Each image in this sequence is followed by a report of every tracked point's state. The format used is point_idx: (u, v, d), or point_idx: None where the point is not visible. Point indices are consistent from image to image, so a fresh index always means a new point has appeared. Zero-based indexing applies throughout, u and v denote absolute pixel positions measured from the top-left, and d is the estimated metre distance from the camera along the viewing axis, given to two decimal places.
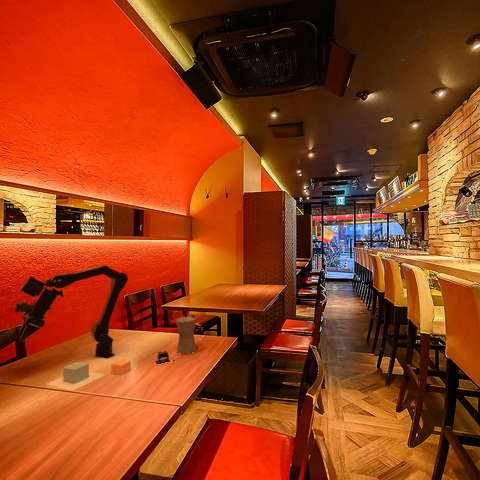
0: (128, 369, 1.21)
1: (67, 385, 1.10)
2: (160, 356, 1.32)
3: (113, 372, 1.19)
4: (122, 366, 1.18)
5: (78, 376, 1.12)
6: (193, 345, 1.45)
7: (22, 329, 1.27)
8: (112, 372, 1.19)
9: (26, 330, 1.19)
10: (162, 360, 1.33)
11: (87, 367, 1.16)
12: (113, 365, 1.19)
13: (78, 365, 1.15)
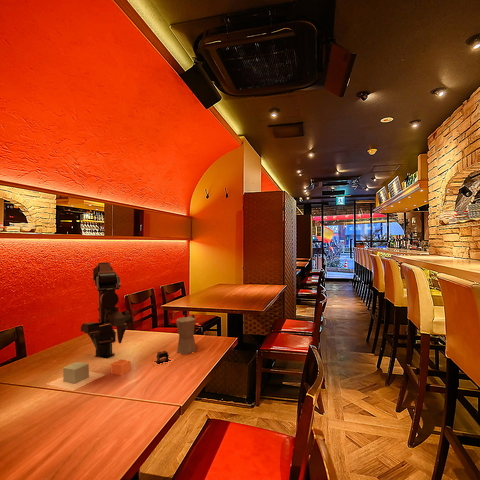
0: (128, 369, 1.21)
1: (67, 385, 1.10)
2: (160, 356, 1.32)
3: (113, 372, 1.19)
4: (122, 366, 1.18)
5: (78, 376, 1.12)
6: (193, 345, 1.45)
7: None
8: (112, 372, 1.19)
9: None
10: (162, 360, 1.34)
11: (87, 367, 1.16)
12: (113, 365, 1.19)
13: (78, 365, 1.15)
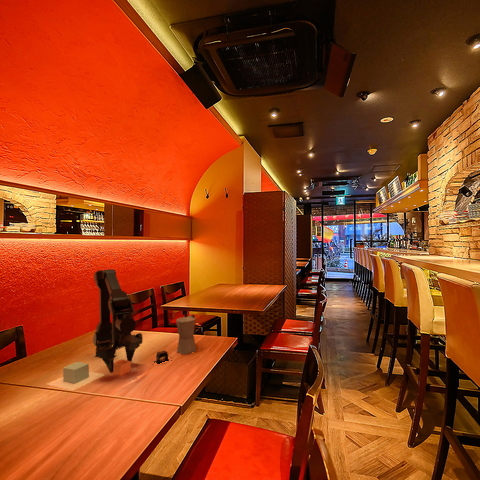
0: (128, 369, 1.21)
1: (67, 385, 1.10)
2: (160, 356, 1.32)
3: (113, 372, 1.19)
4: (122, 366, 1.18)
5: (78, 376, 1.12)
6: (193, 345, 1.45)
7: None
8: None
9: None
10: (161, 360, 1.34)
11: (87, 367, 1.16)
12: None
13: (78, 365, 1.15)
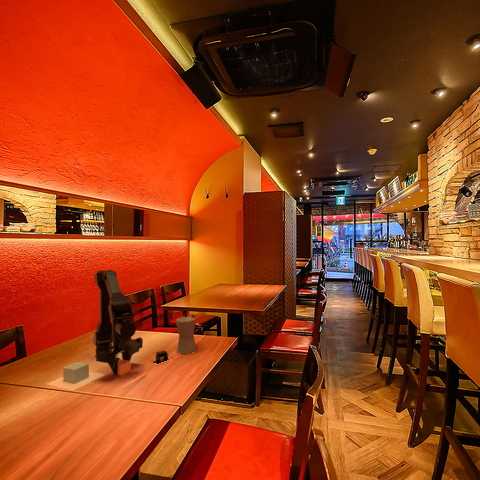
0: (128, 369, 1.21)
1: (67, 385, 1.10)
2: (160, 355, 1.32)
3: None
4: (122, 366, 1.18)
5: (78, 376, 1.12)
6: (193, 345, 1.45)
7: None
8: (112, 372, 1.19)
9: None
10: (161, 359, 1.34)
11: (87, 367, 1.16)
12: None
13: (78, 365, 1.15)
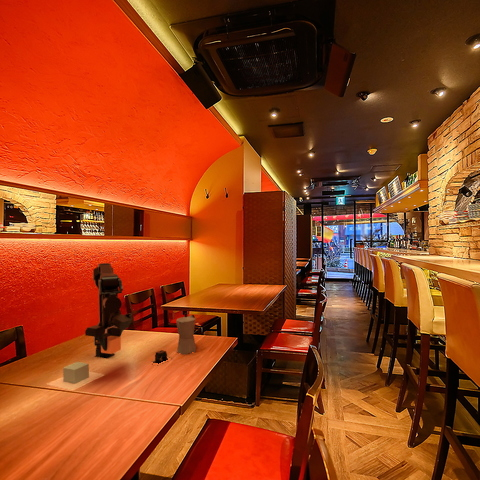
0: (118, 345, 1.20)
1: (67, 385, 1.10)
2: (160, 355, 1.33)
3: None
4: (112, 341, 1.17)
5: (78, 376, 1.12)
6: (193, 345, 1.45)
7: None
8: None
9: None
10: (160, 359, 1.34)
11: (87, 367, 1.16)
12: None
13: (78, 365, 1.15)
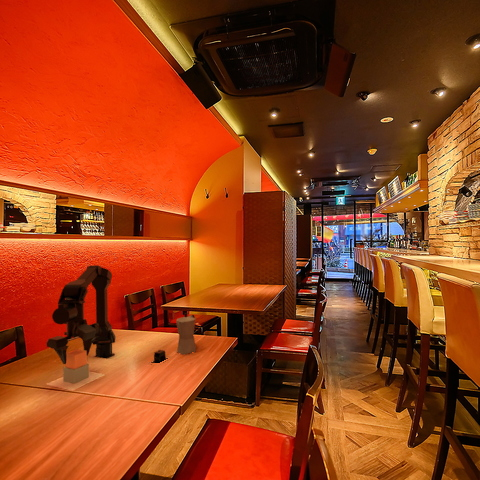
0: (83, 359, 1.15)
1: (67, 385, 1.10)
2: (160, 355, 1.33)
3: (67, 362, 1.13)
4: (76, 356, 1.13)
5: (78, 376, 1.12)
6: (193, 345, 1.45)
7: None
8: (66, 362, 1.14)
9: None
10: (159, 359, 1.35)
11: (87, 367, 1.16)
12: (67, 355, 1.14)
13: None
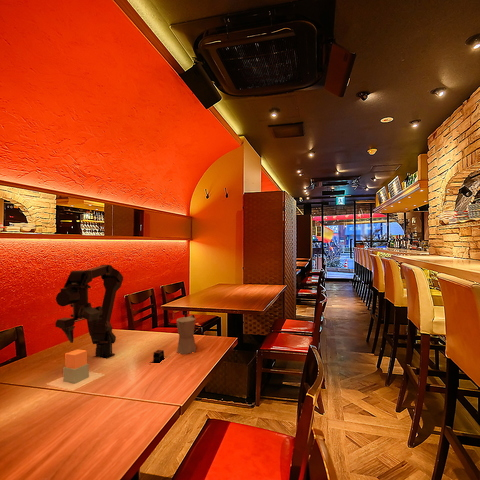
0: (83, 359, 1.15)
1: (67, 385, 1.10)
2: (159, 355, 1.33)
3: (67, 362, 1.13)
4: (76, 356, 1.13)
5: (78, 376, 1.12)
6: (193, 345, 1.45)
7: None
8: (66, 362, 1.14)
9: None
10: None
11: (87, 367, 1.16)
12: (67, 355, 1.14)
13: None
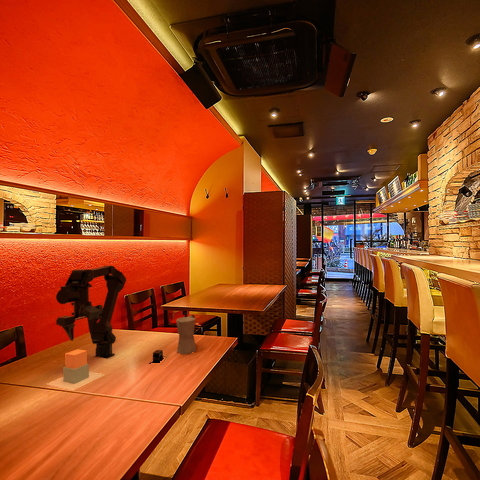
0: (83, 359, 1.15)
1: (67, 385, 1.10)
2: (159, 355, 1.34)
3: (67, 362, 1.13)
4: (76, 356, 1.13)
5: (78, 376, 1.12)
6: (193, 345, 1.45)
7: None
8: (66, 362, 1.14)
9: None
10: None
11: (87, 367, 1.16)
12: (67, 355, 1.14)
13: None
